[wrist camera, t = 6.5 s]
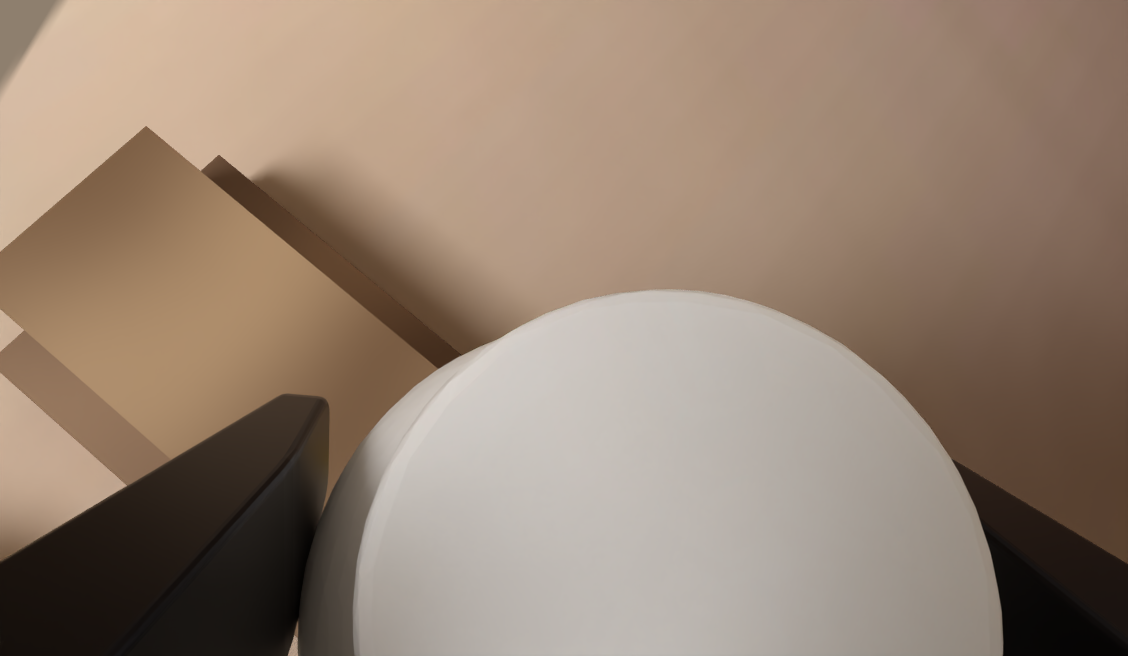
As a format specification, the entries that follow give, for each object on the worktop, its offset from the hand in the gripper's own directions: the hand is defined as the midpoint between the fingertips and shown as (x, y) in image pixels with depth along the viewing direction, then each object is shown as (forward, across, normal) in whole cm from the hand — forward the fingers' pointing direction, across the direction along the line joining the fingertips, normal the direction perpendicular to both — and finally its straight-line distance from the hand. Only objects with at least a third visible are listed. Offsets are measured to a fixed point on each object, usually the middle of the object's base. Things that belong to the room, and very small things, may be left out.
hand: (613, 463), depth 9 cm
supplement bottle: (+4, 0, +6) cm, 7 cm away
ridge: (+9, +3, +7) cm, 12 cm away
